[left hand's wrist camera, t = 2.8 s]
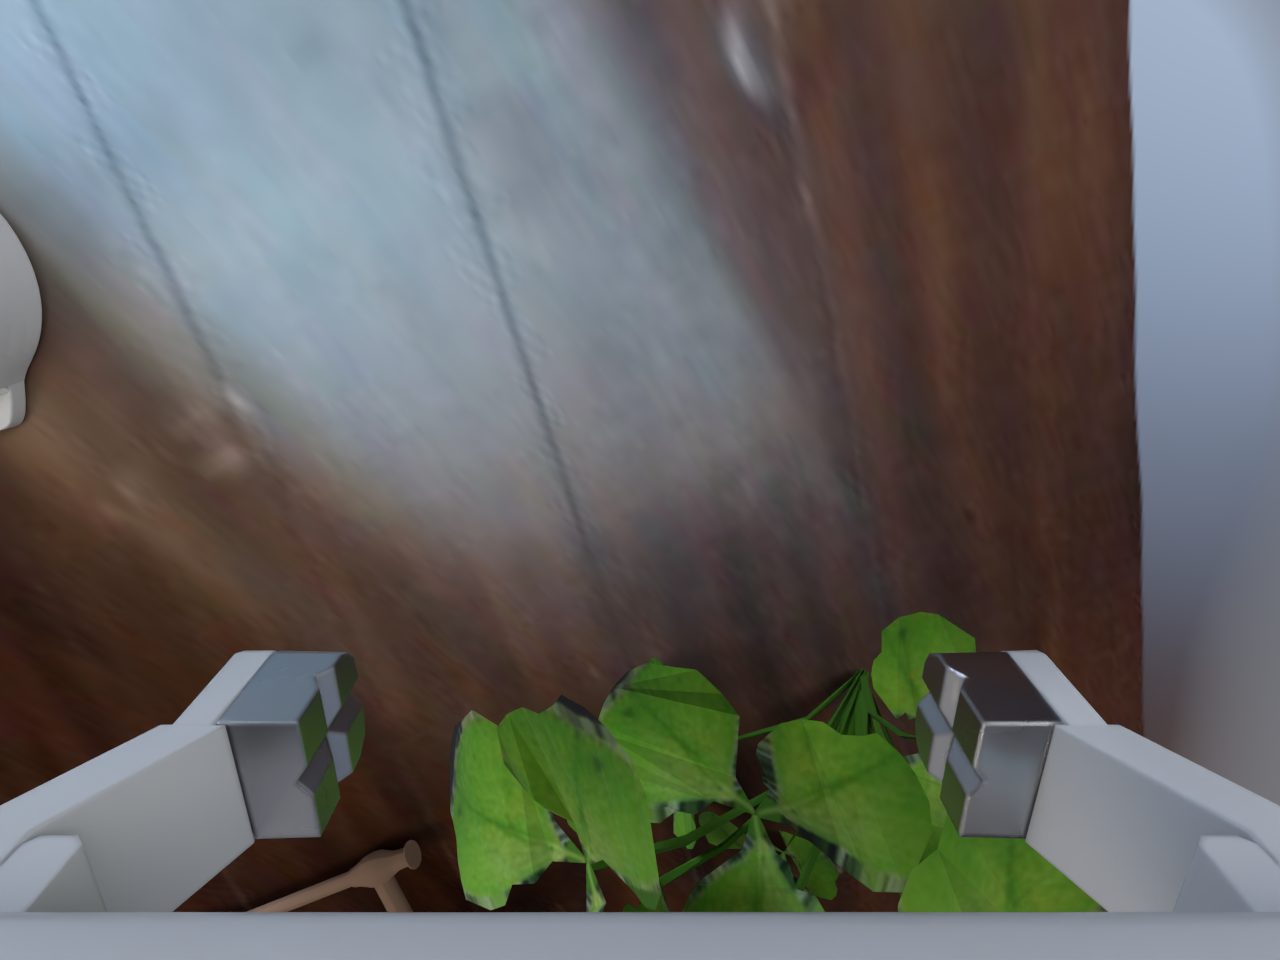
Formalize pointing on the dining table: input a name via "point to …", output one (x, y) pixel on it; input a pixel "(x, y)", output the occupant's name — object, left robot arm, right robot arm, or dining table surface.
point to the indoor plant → (735, 798)
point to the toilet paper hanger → (360, 881)
